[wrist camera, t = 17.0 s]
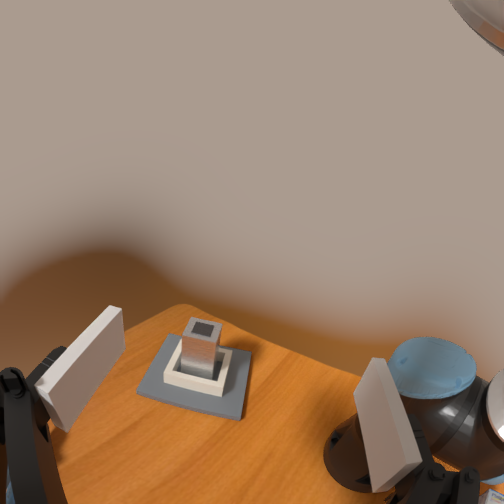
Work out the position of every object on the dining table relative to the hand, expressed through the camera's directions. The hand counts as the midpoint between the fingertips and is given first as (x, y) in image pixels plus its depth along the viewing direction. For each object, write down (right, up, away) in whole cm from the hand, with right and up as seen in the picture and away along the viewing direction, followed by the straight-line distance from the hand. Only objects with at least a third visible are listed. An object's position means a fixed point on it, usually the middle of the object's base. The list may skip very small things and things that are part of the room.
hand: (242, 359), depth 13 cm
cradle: (-9, -18, +36) cm, 41 cm away
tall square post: (-9, -17, +35) cm, 40 cm away
